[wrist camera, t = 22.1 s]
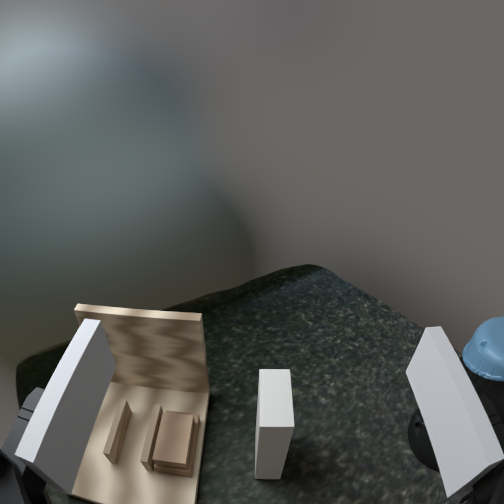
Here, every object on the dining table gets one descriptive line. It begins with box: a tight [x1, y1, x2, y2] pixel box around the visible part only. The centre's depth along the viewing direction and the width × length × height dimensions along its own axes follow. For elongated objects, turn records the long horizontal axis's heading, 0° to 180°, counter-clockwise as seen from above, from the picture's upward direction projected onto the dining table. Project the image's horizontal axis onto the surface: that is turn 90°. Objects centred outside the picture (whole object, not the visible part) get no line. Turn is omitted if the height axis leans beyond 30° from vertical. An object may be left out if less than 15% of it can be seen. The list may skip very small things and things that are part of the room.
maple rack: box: [68, 304, 210, 504], centre depth 36 cm, size 19×24×18 cm
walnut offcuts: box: [152, 410, 200, 477], centre depth 39 cm, size 5×10×4 cm, turn 179°
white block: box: [255, 369, 294, 479], centre depth 37 cm, size 4×8×16 cm, turn 179°
